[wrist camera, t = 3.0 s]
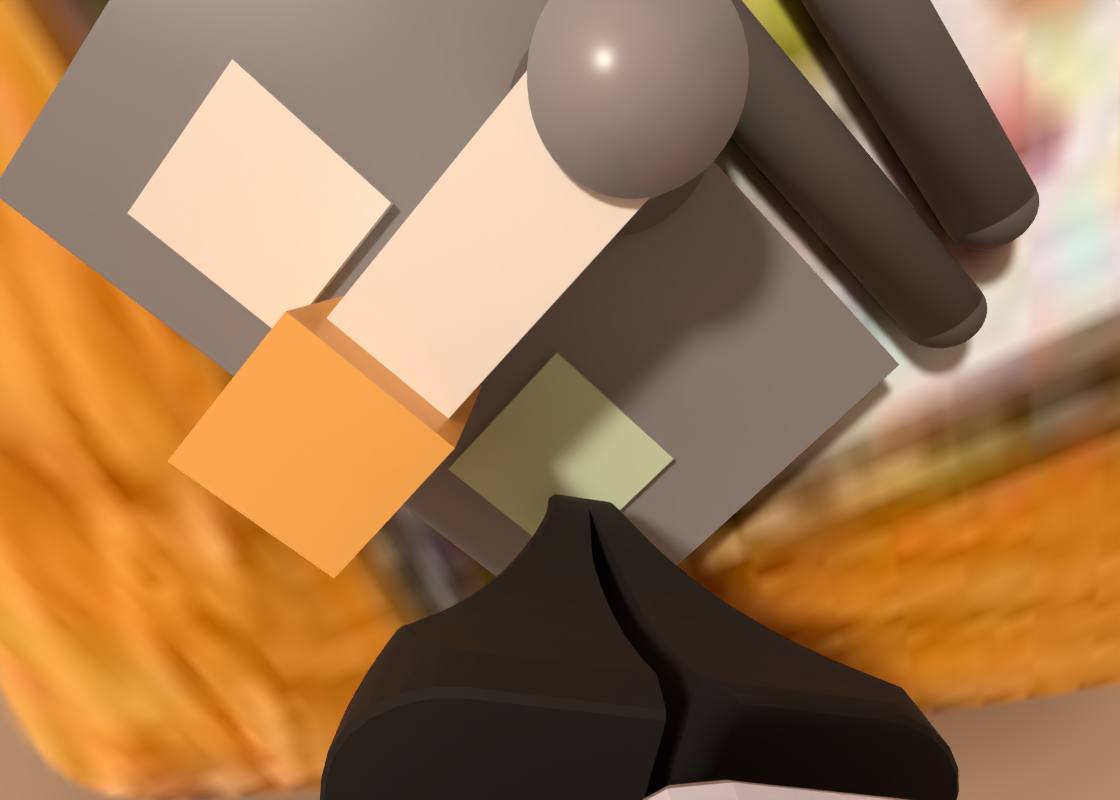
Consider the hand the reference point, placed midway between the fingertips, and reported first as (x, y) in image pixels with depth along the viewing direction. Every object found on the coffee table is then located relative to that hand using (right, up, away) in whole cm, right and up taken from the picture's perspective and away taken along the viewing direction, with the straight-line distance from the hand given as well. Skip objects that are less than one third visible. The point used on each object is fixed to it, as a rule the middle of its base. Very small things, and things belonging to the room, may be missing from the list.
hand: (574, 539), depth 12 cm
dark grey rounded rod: (+5, +11, -1) cm, 12 cm away
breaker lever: (-2, +6, -1) cm, 6 cm away
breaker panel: (-2, +6, +1) cm, 6 cm away
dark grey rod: (+3, +10, 0) cm, 10 cm away
